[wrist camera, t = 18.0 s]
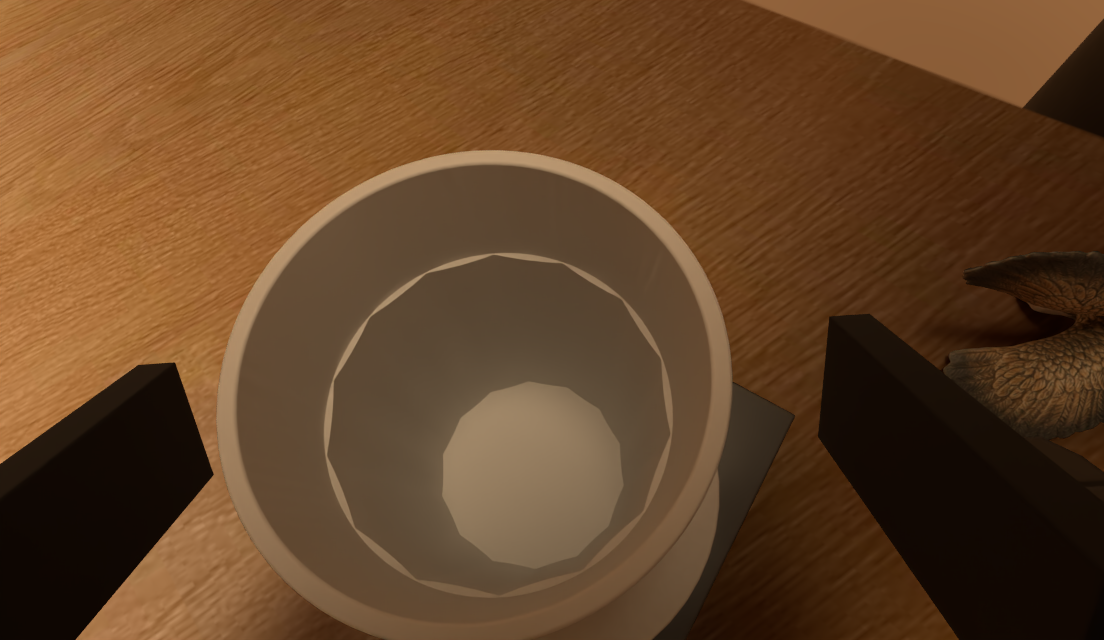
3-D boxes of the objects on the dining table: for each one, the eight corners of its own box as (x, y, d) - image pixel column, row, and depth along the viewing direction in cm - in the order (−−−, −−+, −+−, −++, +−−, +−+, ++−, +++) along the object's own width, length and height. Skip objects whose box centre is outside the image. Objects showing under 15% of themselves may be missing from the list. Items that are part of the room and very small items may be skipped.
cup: (368, 491, 21) (114, 390, 10) (526, 321, 23) (465, 79, 12) (547, 670, 18) (478, 805, 7) (706, 464, 21) (838, 327, 9)
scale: (777, 430, 24) (801, 410, 21) (606, 775, 20) (608, 806, 17) (488, 272, 27) (476, 237, 24) (294, 542, 23) (254, 536, 21)
